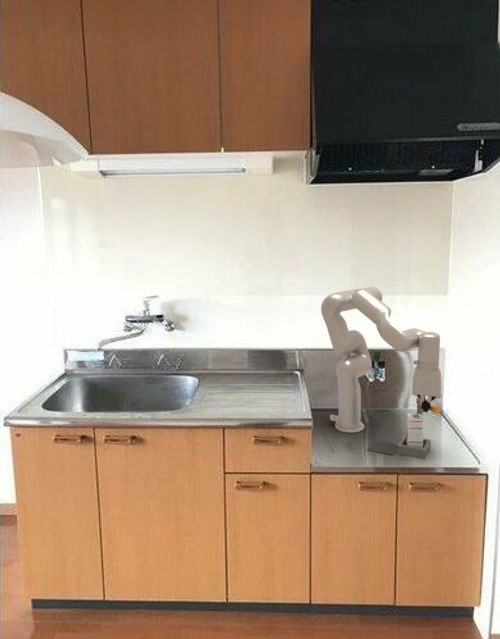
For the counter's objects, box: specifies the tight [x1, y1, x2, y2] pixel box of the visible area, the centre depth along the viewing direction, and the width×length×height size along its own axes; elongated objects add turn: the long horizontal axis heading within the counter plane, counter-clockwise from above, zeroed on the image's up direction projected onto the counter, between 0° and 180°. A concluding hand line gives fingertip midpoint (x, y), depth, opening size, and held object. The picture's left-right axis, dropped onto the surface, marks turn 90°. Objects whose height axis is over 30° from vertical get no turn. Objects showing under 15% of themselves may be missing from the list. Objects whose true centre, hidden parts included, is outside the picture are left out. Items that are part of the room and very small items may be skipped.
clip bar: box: [415, 396, 441, 415], centre depth 194 cm, size 3×14×2 cm, turn 13°
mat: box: [366, 439, 399, 456], centre depth 198 cm, size 10×10×1 cm
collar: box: [397, 434, 432, 460], centre depth 194 cm, size 10×10×4 cm
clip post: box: [416, 403, 424, 419], centre depth 200 cm, size 6×5×16 cm
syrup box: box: [406, 412, 424, 449], centre depth 193 cm, size 6×6×14 cm
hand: (425, 411), depth 190 cm, fingers closed
